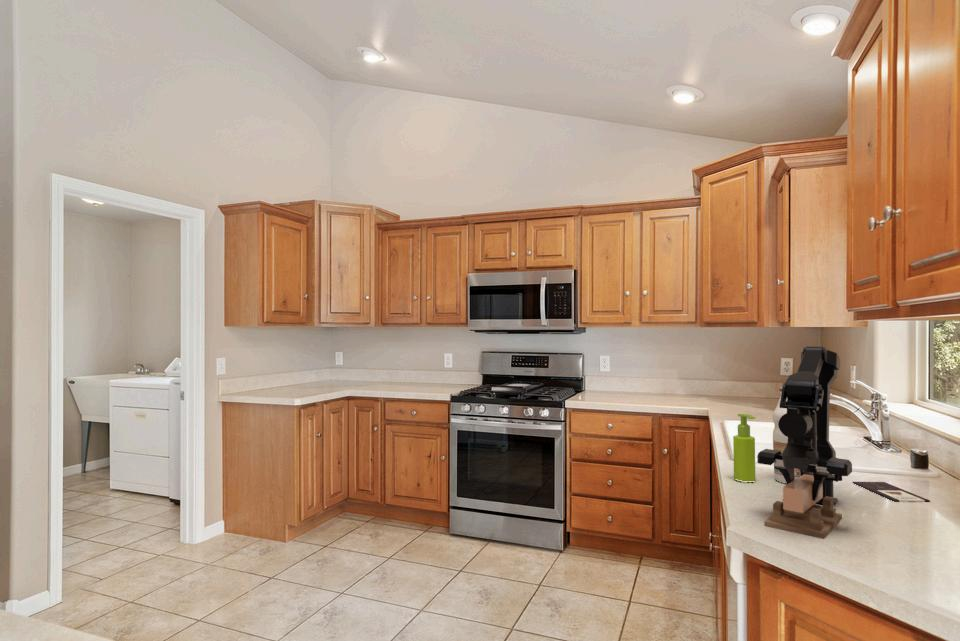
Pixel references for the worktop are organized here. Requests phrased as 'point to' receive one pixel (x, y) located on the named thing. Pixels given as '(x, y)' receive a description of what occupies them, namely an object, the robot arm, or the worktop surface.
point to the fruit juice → (780, 440)
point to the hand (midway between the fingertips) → (803, 498)
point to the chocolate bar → (891, 492)
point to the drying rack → (805, 519)
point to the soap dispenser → (744, 451)
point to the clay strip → (800, 494)
